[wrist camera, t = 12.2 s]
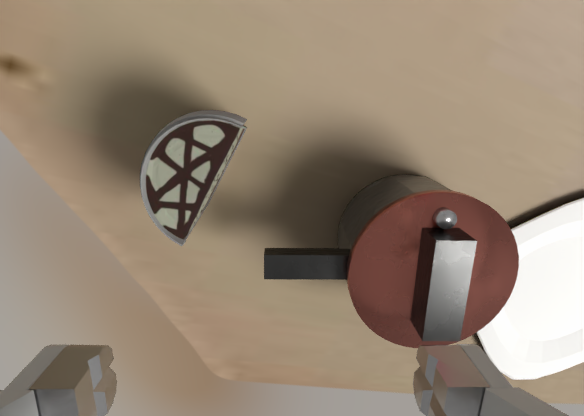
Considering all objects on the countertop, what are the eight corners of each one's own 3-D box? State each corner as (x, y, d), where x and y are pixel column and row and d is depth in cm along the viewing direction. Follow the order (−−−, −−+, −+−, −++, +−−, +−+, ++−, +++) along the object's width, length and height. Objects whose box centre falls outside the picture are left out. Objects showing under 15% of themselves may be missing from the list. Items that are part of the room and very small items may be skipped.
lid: (352, 188, 31) (362, 202, 27) (525, 190, 32) (560, 204, 28) (342, 340, 36) (349, 371, 32) (495, 340, 36) (521, 370, 32)
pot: (267, 172, 40) (263, 193, 31) (468, 175, 41) (519, 196, 32) (267, 289, 44) (264, 336, 35) (450, 289, 45) (491, 335, 36)
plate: (439, 254, 44) (445, 260, 42) (620, 170, 42) (634, 173, 40) (497, 386, 50) (504, 396, 48) (658, 318, 47) (672, 326, 46)
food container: (198, 84, 37) (170, 80, 28) (253, 114, 38) (244, 120, 29) (150, 189, 40) (109, 218, 31) (202, 215, 41) (179, 251, 32)
